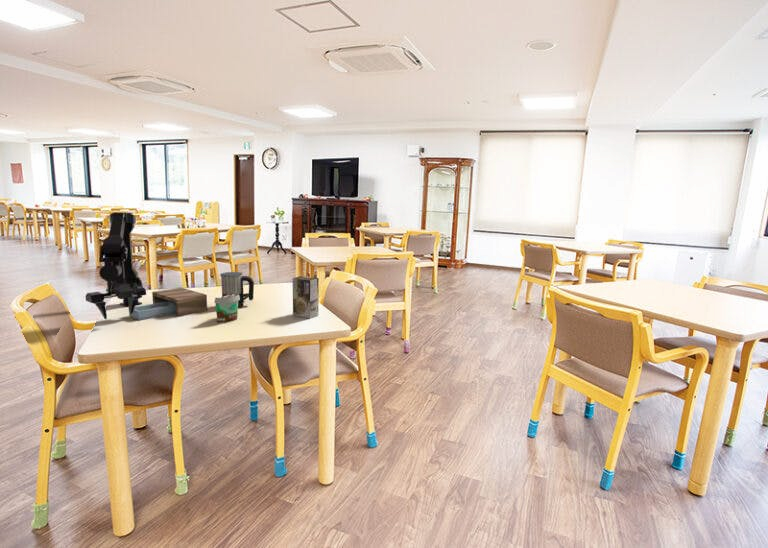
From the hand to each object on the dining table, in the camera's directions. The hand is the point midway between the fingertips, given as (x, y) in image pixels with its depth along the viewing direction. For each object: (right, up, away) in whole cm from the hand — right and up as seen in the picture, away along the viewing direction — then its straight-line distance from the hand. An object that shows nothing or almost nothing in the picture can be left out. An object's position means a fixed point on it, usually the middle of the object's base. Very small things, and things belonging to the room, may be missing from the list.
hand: (118, 316), depth 159 cm
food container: (+40, -2, +8) cm, 41 cm away
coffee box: (+67, -2, +18) cm, 70 cm away
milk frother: (+33, +2, +32) cm, 46 cm away
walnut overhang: (+14, +1, +20) cm, 24 cm away
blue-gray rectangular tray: (+8, 0, +11) cm, 13 cm away
